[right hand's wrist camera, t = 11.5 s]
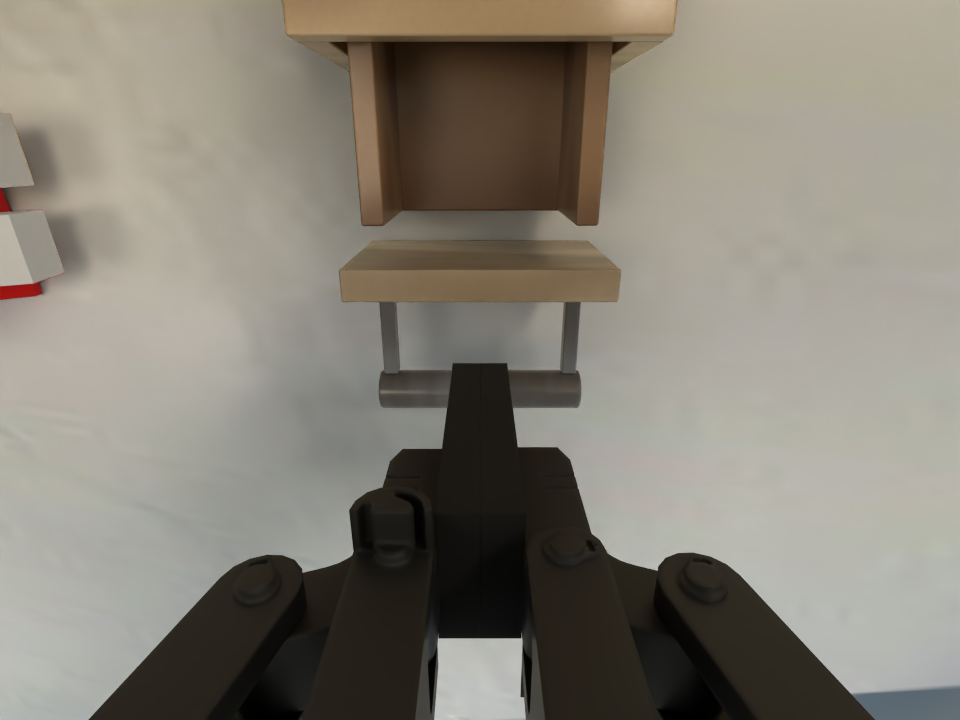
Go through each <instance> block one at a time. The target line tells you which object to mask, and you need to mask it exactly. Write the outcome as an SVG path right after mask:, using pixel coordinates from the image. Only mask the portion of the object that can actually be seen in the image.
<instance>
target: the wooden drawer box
mask: <svg viewBox="0 0 960 720" xmlns="http://www.w3.org/2000/svg"><path fill="white" fill-rule="evenodd" d="M677 2H678V0H282V4H283V13H284V21H285V30H286V34H287V36H289V37H290V38H292V39H294V40H296V41H298V42H299V43H301V44H302V45H304V46H306V47H308V48H309V49H311V50H313V51H315V52H316V53H318V54H320V55H321V56H323V57H325V58H327V59H328V60H330V61H332V62H334V63H335V64H337V65H339V66H340V67H342V68H344V69H346V70H347V71H349V61H348V48H347V42H569V41H613V44H612V57H611V70H610V72H611V71H613V70H615V69H617V68H618V67H620V66H622V65H624V64H625V63H627V62H629V61H630V60H632V59H634V58H636V57H637V56H639V55H641V54H642V53H644V52H646V51H648V50H649V49H651V48H653V47H655V46H656V45H658V44H660V43H661V42H663V41H664V40H666V39H667V38H669V37H671V36H672V35H673V34H674V28H675V19H676V11H677Z"/></svg>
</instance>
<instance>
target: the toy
mask: <svg viewBox="0 0 960 720" xmlns="http://www.w3.org/2000/svg"><path fill="white" fill-rule="evenodd" d="M32 185H35V184H34V181H33V178H32V175H31V173H30V170H29V167H28V164H27V161H26V158H25V155H24V152H23V149H22V146H21V143H20V140H19V137H18V134H17V131H16V129H15V126H14V123H13V120H12V117H11V114H6V113H0V300H2V299H11V298H21V297H30V296H37V295H39V294H42V291H41V288H40V285H39V283H38V282H39V281H42V280H45V279H48V278H51V277H54V276H57V275H60V274H63V273H65V272H64V269H63V266H62V263H61V261H60V258H59V255H58V252H57V249H56V246H55V243H54V240H53V237H52V234H51V231H50V228H49V225H48V222H47V219H46V217H45V214H44V211H43V209H42V210H27V211H12V212H11V211H10V208H9V206H8V203H7V201H6V198H5V195H4V193H3V190H2V188H6V187H19V186H32Z"/></svg>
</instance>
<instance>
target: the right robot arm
mask: <svg viewBox="0 0 960 720" xmlns="http://www.w3.org/2000/svg"><path fill="white" fill-rule="evenodd" d="M349 513H350V522H351V531H352V540H353V550H354V552H353V555H352V556H351V557H350V558H348V559H346V560H344V561H342V562H340V563H338V564H335V565H332V566H329V567H325V568H321V569H317V570H313V571H309V572H305V573H302V568H301V567H300V566H299V565H298V564H297V562H296V561H295V560H293V559H291V558H288V557H285V556H283V555H265V556H260V557H256V558H251V559H249V560H247V561H245V562H242V563H240V564H238V565H236V566H234V567H233V568H232V569H230V570H229V571H228V572H227V573H226V574H224V575H223V576H222V577H221V578H220V579H219V580H218V581H217V582H216V583H215V584H214V585H213V586H212V587H211V588H210V589H209V591H208V592H207V593H206V594H205V595H204V596H203V597H202V598H201V599H200V600H199V601H198V602H197V603H196V605H195V606H194V607H193V608H192V609H191V610H190V611H189V612H188V613H187V614H186V615H185V616H184V617H183V619H182V620H181V621H180V622H179V623H178V624H177V625H176V626H175V627H174V628H173V629H172V630H171V631H170V633H169V634H168V635H167V636H166V637H165V638H164V639H163V640H162V641H161V642H160V643H159V644H158V645H157V647H156V648H155V649H154V650H153V651H152V652H151V653H150V654H149V655H148V656H147V657H146V658H145V659H144V661H143V662H142V663H141V664H140V665H139V666H138V667H137V668H136V669H135V670H134V671H133V672H132V674H131V675H130V676H129V677H128V678H127V679H126V680H125V681H124V682H123V683H122V684H121V685H120V686H119V688H118V689H117V690H116V691H115V692H114V693H113V694H112V695H111V696H110V697H109V698H108V699H107V700H106V702H105V703H104V704H103V705H102V706H101V707H100V708H99V709H98V710H97V711H96V712H95V713H94V714H93V716H92V717H91V718H90V719H89V720H434V713H435V700H436V687H437V675H438V650H437V643H438V633H439V638H521V633H522V640H523V650H522V675H521V697H524V700H525V713H526V720H875V719H874V718H873V717H872V716H871V715H870V714H869V713H868V712H867V711H866V710H865V709H864V708H863V707H862V705H861V704H860V703H859V702H858V701H857V700H856V699H855V698H854V697H853V696H852V695H851V694H850V693H849V692H848V690H847V689H846V688H845V687H844V686H843V685H842V684H841V683H840V682H839V681H838V680H837V679H836V678H835V677H834V675H833V674H832V673H831V672H830V671H829V670H828V669H827V668H826V667H825V666H824V665H823V664H822V663H821V662H820V661H819V659H818V658H817V657H816V656H815V655H814V654H813V653H812V652H811V651H810V650H809V649H808V648H807V647H806V646H805V644H804V643H803V642H802V641H801V640H800V639H799V638H798V637H797V636H796V635H795V634H794V633H793V632H792V631H791V629H790V628H789V627H788V626H787V625H786V624H785V623H784V622H783V621H782V620H781V619H780V618H779V617H778V616H777V614H776V613H775V612H774V611H773V610H772V609H771V608H770V607H769V606H768V605H767V604H766V603H765V602H764V601H763V599H762V598H761V597H760V596H759V595H758V594H757V593H756V592H755V591H754V590H753V589H752V588H751V587H750V586H749V585H748V583H747V582H746V581H745V580H744V579H743V578H742V577H741V576H740V575H739V574H738V573H736V572H735V571H734V570H733V569H732V568H730V567H729V566H728V565H727V564H725V563H723V562H720V561H718V560H716V559H714V558H712V557H710V556H705V555H701V554H696V553H677V554H675V555H672V556H669V557H667V558H665V559H664V561H663V562H662V563H661V564H660V565H659V567H658V571H656V570H651V569H647V568H643V567H639V566H635V565H632V564H628V563H625V562H622V561H620V560H618V559H616V558H614V557H612V556H610V555H609V554H608V553H607V551H606V549H605V548H604V546H603V544H602V543H601V541H600V540H599V539H598V538H596V537H595V536H594V535H592V534H591V531H590V527H589V524H588V520H587V517H586V513H585V510H584V507H583V503H582V500H581V496H580V493H579V489H578V486H577V482H576V479H575V477H574V472H573V468H572V465H571V462H570V459H569V458H568V457H567V456H566V455H565V454H564V453H563V452H562V451H560V450H559V449H558V448H557V447H518V446H517V438H516V431H515V423H514V415H513V407H512V399H511V391H510V383H509V375H508V367H507V363H453V367H452V375H451V383H450V391H449V399H448V407H447V415H446V423H445V430H444V438H443V446H442V449H402V450H401V451H400V452H399V453H398V454H397V455H396V456H395V457H394V458H393V459H392V460H391V461H390V464H389V467H388V471H387V474H386V479H385V481H384V484H383V487H382V488H379V489H376V490H373V491H370V492H368V493H366V494H364V495H363V496H362V497H360V498H359V499H357V500H356V501H355V502H354V504H353V505H352V507H351V508H350V510H349Z"/></svg>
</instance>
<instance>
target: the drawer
mask: <svg viewBox="0 0 960 720" xmlns="http://www.w3.org/2000/svg"><path fill="white" fill-rule="evenodd" d="M612 44H613V41H569V42H347V48H348V61H349V73H350V86H351V98H352V111H353V123H354V136H355V148H356V160H357V173H358V185H359V198H360V210H361V223H362V225H363V226H383V225H385V224H386V223H387V222H389V221H390V220H391V219H392V218H394V217H395V216H396V215H397V214H399V213H400V212H401V211H402V210H558V211H560V212H561V213H562V214H563V215H564V216H566V217H567V218H568V219H569V220H571V221H572V222H573V223H574V224H576V225H577V226H596V225H598V221H599V208H600V196H601V183H602V170H603V158H604V145H605V133H606V120H607V107H608V95H609V82H610V70H611V57H612ZM339 277H340V287H341V298H342V302H379V303H380V317H381V331H382V344H383V358H384V370H383V371H382V372H381V374H380V380H379V400H380V404H381V407H382V408H447V407H448V399H449V391H450V383H451V375H452V370H400V358H399V341H398V324H397V308H396V302H564V309H563V326H562V343H561V360H560V369H561V370H508V375H509V383H510V391H511V399H512V407H513V408H578V407H579V405H580V401H581V378H580V374H579V371H577V370H576V361H577V347H578V333H579V319H580V305H581V302H618V298H619V288H620V278H621V270H620V269H619V268H618V267H617V266H616V265H615V264H614V263H612V262H611V261H610V260H609V259H608V258H607V257H605V256H604V255H603V254H602V253H601V252H600V251H599V250H597V249H596V248H595V247H594V246H593V245H592V244H591V243H589V242H588V241H372V242H371V243H370V244H369V245H367V246H366V247H365V248H364V249H363V250H362V251H361V252H359V253H358V254H357V255H356V256H355V257H354V258H352V259H351V260H350V261H349V262H348V263H347V264H346V265H344V266H343V267H342V268H341V269H340V270H339Z"/></svg>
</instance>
